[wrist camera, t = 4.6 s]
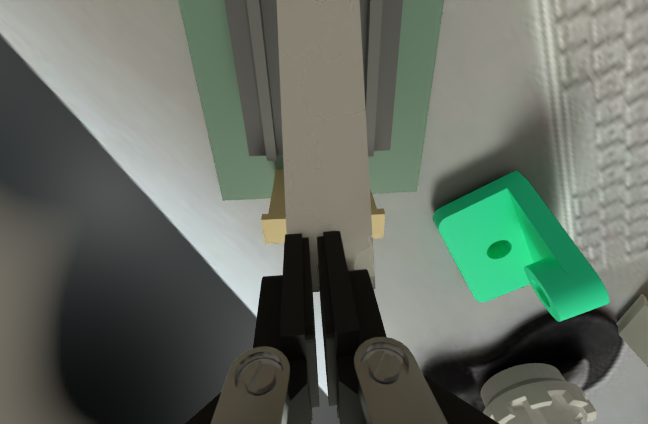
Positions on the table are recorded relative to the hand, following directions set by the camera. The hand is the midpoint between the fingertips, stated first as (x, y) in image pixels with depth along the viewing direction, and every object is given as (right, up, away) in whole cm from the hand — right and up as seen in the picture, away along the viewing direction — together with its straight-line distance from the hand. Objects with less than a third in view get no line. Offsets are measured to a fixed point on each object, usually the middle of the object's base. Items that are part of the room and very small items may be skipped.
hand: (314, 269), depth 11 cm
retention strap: (0, +8, +2) cm, 8 cm away
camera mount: (+16, 0, +22) cm, 27 cm away
